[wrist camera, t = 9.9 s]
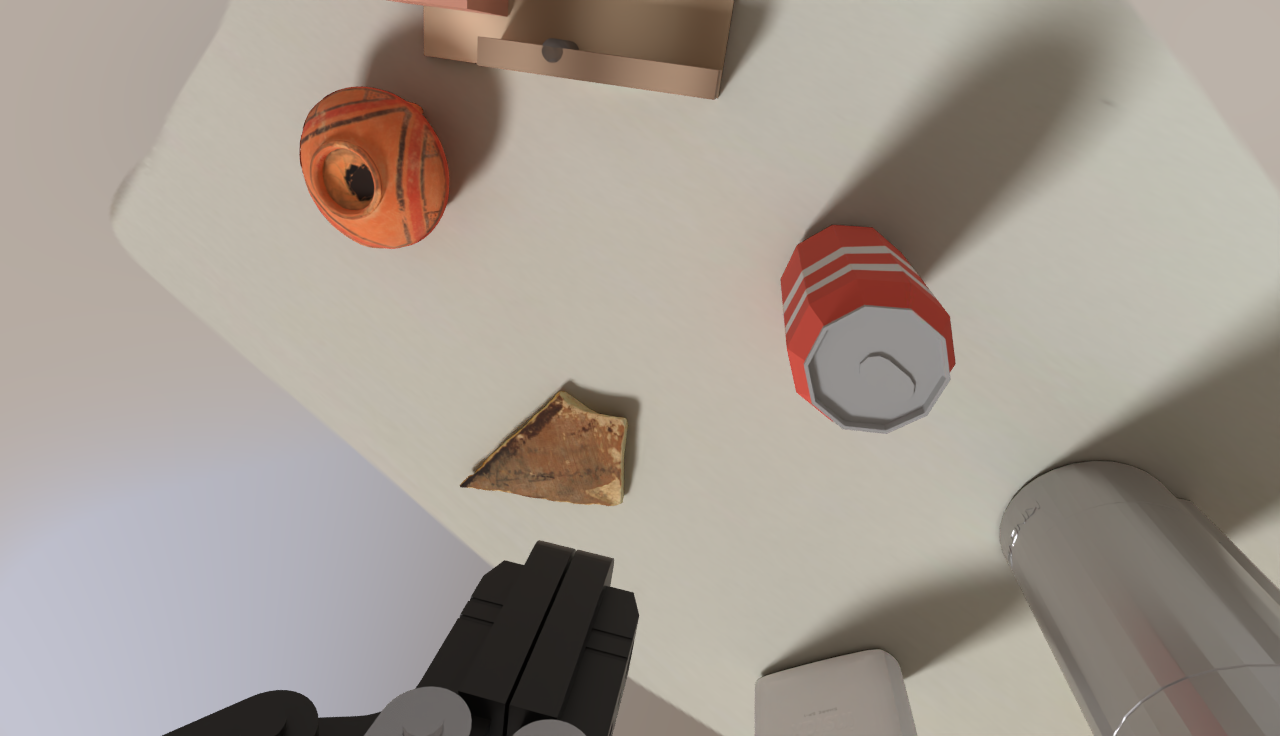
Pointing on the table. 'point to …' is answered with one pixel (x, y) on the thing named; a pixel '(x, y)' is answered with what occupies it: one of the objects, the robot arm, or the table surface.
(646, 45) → the tan wooden frame
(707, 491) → the table surface
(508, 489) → the shard
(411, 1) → the block
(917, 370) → the beverage can
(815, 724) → the photo printer
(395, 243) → the pot
